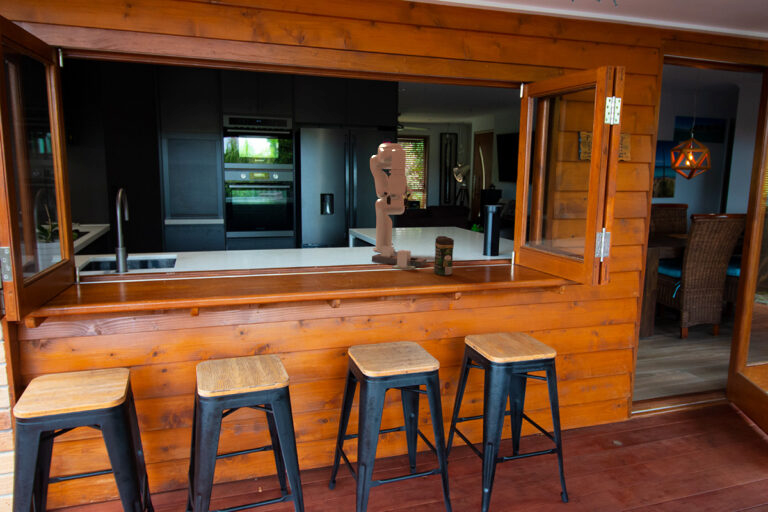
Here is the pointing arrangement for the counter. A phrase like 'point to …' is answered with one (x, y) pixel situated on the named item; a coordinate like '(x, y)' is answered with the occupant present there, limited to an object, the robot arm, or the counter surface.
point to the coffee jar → (443, 255)
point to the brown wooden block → (387, 251)
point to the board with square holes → (393, 260)
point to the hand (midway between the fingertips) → (397, 205)
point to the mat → (404, 268)
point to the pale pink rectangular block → (403, 259)
